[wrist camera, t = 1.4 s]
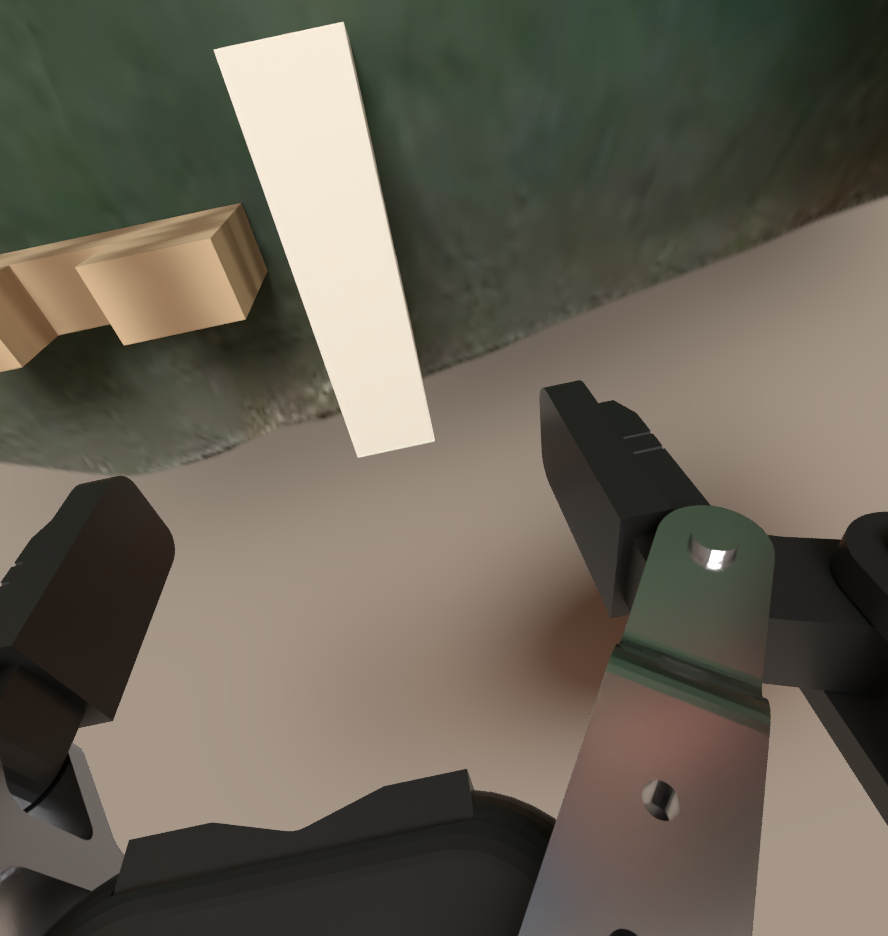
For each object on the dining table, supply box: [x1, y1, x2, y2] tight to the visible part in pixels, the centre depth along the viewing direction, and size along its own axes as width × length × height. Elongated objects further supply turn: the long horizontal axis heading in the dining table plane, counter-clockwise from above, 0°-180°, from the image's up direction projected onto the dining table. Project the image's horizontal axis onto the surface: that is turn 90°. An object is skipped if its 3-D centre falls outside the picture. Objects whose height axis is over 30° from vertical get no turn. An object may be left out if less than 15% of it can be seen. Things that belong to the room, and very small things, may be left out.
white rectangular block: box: [214, 22, 435, 458], centre depth 22 cm, size 14×4×12 cm, turn 10°
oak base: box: [0, 203, 267, 372], centre depth 24 cm, size 16×4×7 cm, turn 100°
